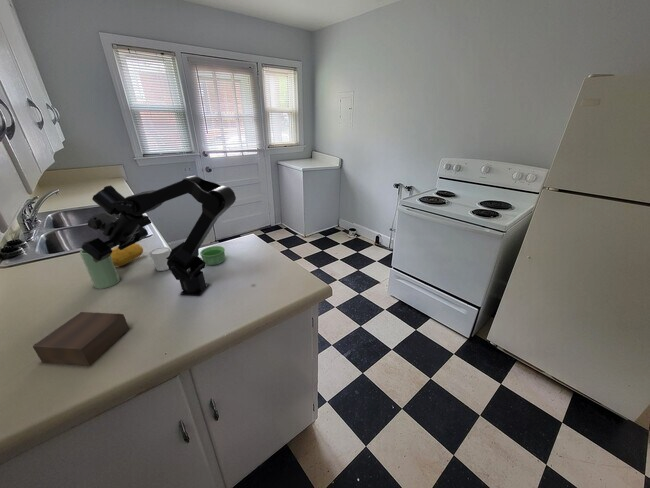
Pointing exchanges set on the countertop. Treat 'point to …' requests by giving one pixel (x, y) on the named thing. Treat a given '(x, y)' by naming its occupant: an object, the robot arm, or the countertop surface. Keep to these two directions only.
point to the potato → (126, 254)
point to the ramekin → (213, 255)
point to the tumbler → (100, 271)
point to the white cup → (160, 258)
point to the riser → (82, 338)
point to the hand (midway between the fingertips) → (107, 254)
